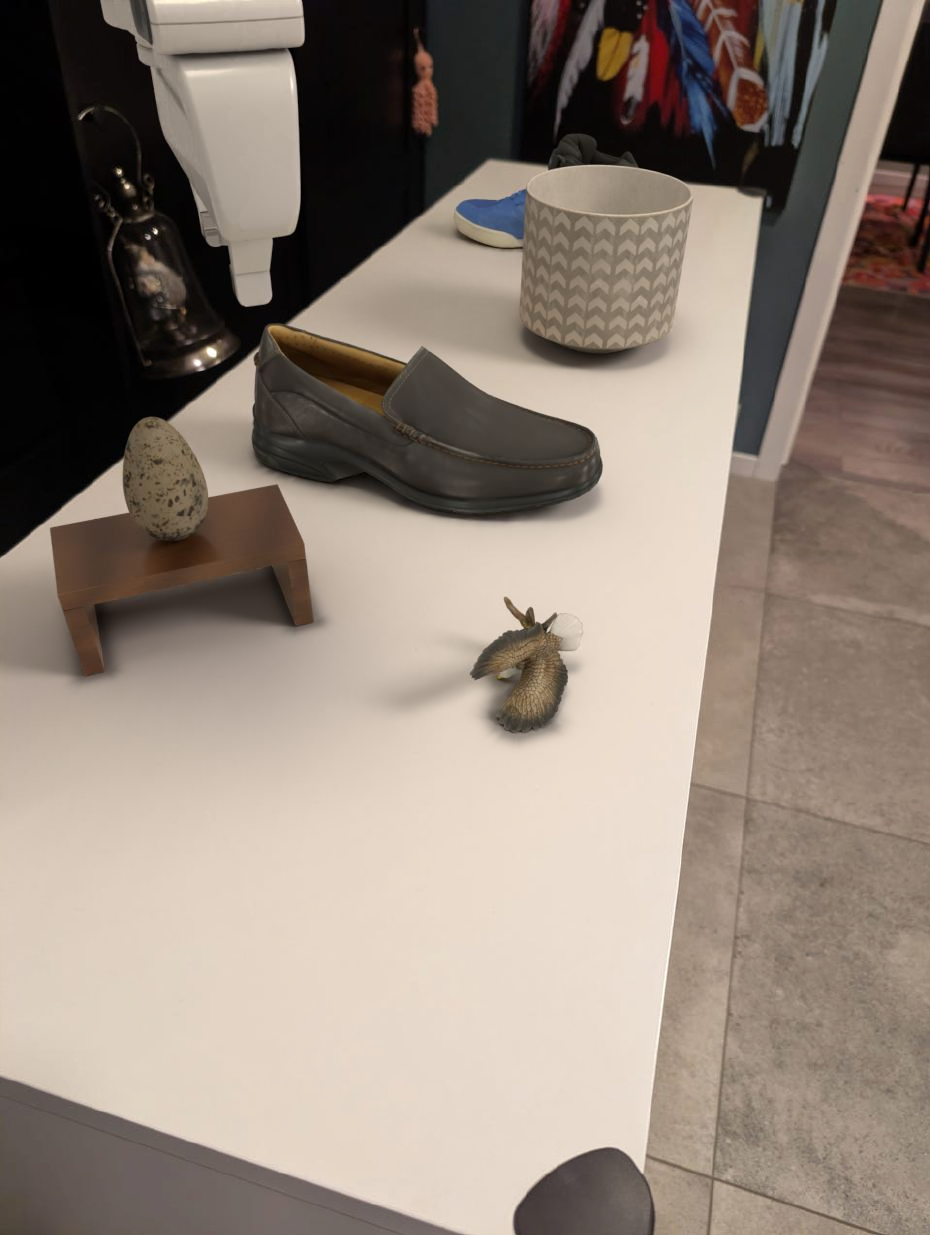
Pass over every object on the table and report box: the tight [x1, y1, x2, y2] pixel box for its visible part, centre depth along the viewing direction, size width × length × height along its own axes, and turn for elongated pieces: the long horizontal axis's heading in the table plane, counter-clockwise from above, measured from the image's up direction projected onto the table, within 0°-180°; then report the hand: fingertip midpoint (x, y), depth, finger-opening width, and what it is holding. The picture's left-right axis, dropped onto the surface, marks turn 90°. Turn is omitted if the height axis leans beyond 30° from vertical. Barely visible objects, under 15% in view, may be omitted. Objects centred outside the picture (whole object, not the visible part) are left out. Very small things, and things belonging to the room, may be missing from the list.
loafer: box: [251, 323, 604, 516], centre depth 92 cm, size 13×36×13 cm, turn 76°
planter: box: [519, 165, 694, 354], centre depth 115 cm, size 19×19×18 cm
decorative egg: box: [122, 416, 209, 541], centre depth 71 cm, size 6×6×10 cm
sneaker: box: [453, 133, 639, 249], centre depth 142 cm, size 12×29×16 cm, turn 71°
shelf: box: [49, 483, 314, 677], centre depth 77 cm, size 18×9×8 cm, turn 112°
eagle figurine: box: [469, 596, 584, 734], centre depth 71 cm, size 8×7×9 cm
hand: (235, 269), depth 54 cm, fingers open, 8 cm apart
